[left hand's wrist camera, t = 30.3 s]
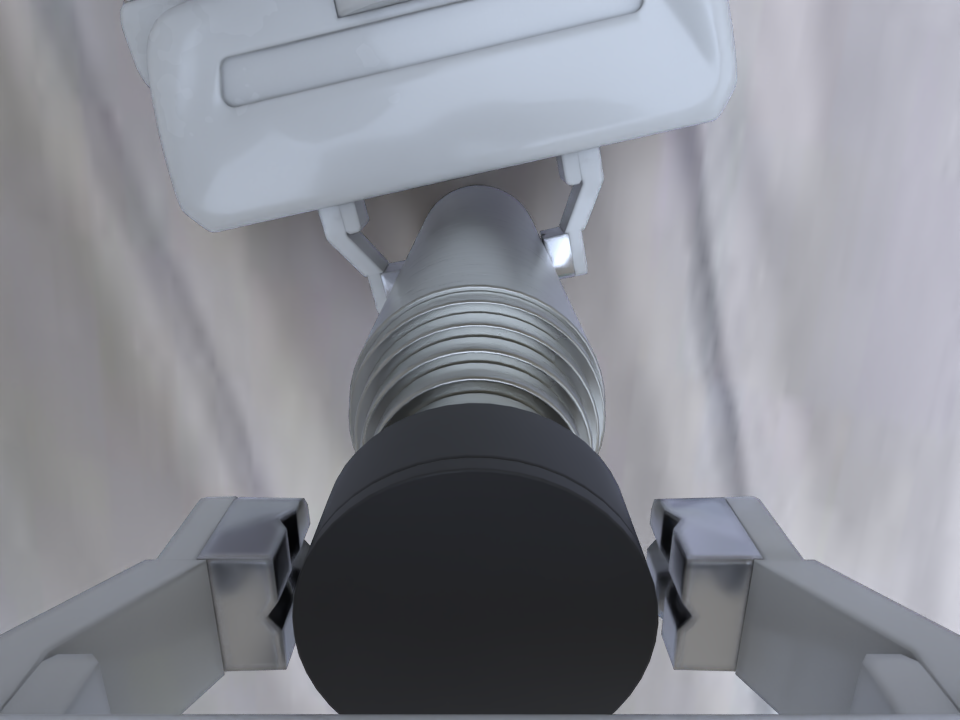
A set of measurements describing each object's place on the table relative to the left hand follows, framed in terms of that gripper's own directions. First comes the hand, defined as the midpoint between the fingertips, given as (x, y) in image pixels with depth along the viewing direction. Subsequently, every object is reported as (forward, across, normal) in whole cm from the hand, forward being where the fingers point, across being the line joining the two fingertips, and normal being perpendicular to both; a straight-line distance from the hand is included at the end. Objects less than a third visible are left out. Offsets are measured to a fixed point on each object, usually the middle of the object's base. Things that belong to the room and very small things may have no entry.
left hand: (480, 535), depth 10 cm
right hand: (+18, 0, -1) cm, 18 cm away
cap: (-2, 0, 0) cm, 2 cm away
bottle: (+23, 0, 0) cm, 23 cm away
